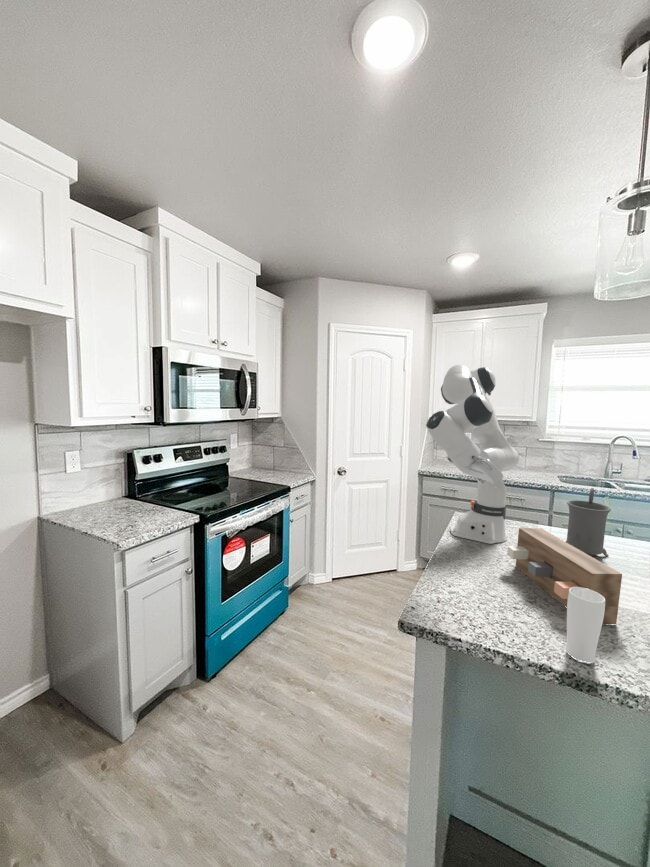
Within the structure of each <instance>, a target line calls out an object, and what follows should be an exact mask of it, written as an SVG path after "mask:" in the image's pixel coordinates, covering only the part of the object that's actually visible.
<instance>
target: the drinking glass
mask: <svg viewBox="0 0 650 867" xmlns="http://www.w3.org/2000/svg"><path fill="white" fill-rule="evenodd" d="M604 612H605V598H604V597H603V596H602V595H601V594H599V593H597V592H595V591H593V590H590V589H586V588H582V587H572V588H570V589H569V593H568V599H567V609H566V646H565V651H567V652H568V653H569V654H570V655H571V656H573V657H574V658H576V659H579V660H582V661H586V662H592V661H594V660H595V661H596V654H597V650H598V649H597V648H598V644H599V640H600V636H601V631H602V626H603V625H602V623H603V619H604ZM567 652H566V653H567ZM595 661H594V662H595Z"/></svg>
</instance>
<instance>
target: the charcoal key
mask: <svg viewBox="0 0 650 867" xmlns="http://www.w3.org/2000/svg"><path fill="white" fill-rule="evenodd" d="M528 572H530V573H531V574H532V575H533V576H535V577H552V573H553V567H552V566H551V565H550V564H548V563H547V562H529V566H528Z"/></svg>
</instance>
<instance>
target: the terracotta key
mask: <svg viewBox="0 0 650 867" xmlns="http://www.w3.org/2000/svg"><path fill="white" fill-rule="evenodd" d="M572 587H581V586H580V585H578V584H577V583H575V582H555V586H554V592H555V593H556V594H557V595H558V596H560V597H561V598H562V599H568V593H569V589H570V588H572Z"/></svg>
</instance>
